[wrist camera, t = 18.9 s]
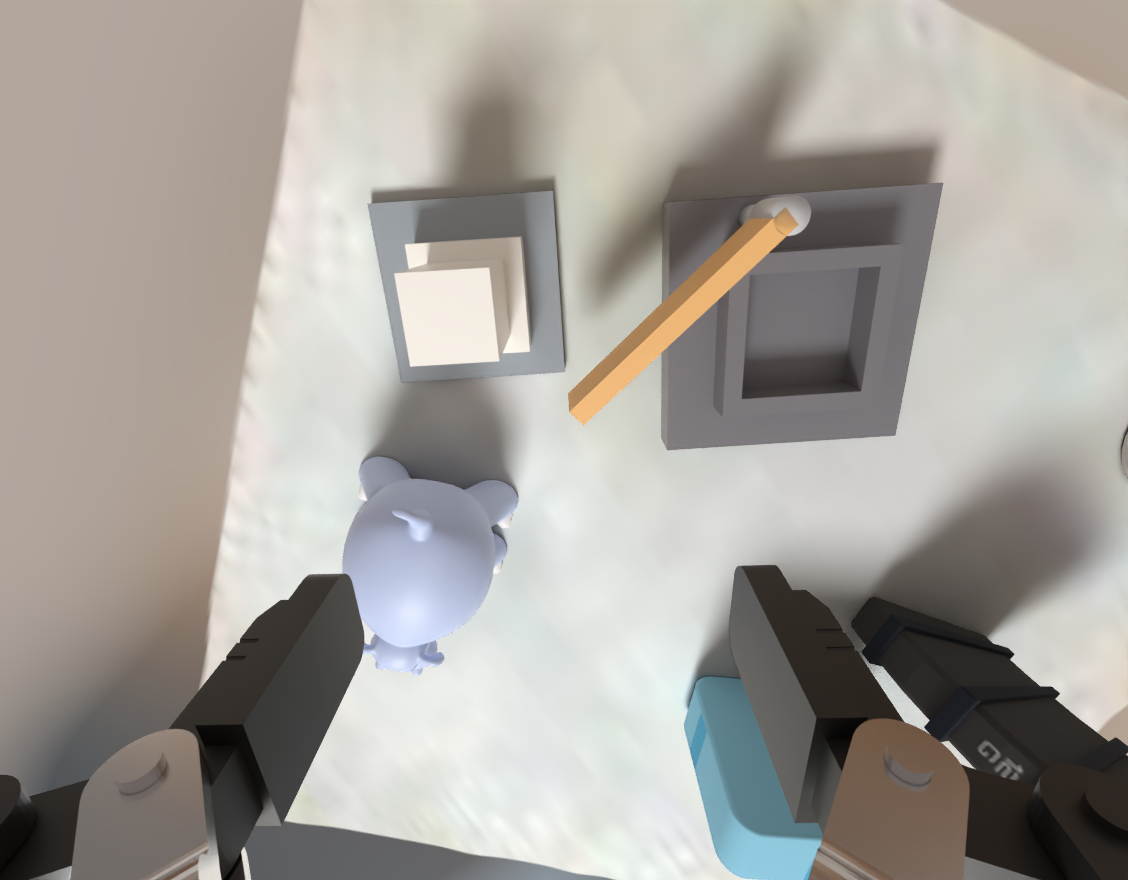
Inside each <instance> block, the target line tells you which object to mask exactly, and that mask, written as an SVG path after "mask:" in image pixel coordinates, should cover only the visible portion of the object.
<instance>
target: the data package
mask: <svg viewBox="0 0 1128 880" xmlns="http://www.w3.org/2000/svg"><path fill="white" fill-rule="evenodd" d="M684 728H685V733H686V737H687V741H688V745H689V749H690V753H691V757H692V761H693V764H694V768H695V772H696V776H697V780H698V784H699V788H700V792H701V796H702V800H703V804H704V808H705V812H706V816H707V820H708V824H709V828H710V832H711V836H712V840H713V844H714V848H715V851H716V854H717V856H718V858H719V859H720V861H721V862H722V864H723V865H724V866H725V867H726V868H727V869H728V870H729V871H730V872H732V873H733V874H735V875H737V876H739V877H741V878H746V879H759V880H808V878H809V874H810V871H811V868H812V864H813V861H814V858H815V855H816V852H817V850H818V848H819V847H820V844H821V841H822V837H823V834H822V832H821V829H820V827H819V825H818V823H795V822H794V820H793V817H792V814H791V812H790V809H789V806H788V803H787V801H786V798H785V795H784V793H783V790H782V787H781V785H780V782H779V779H778V776H777V774H776V771H775V768H774V766H773V763H772V760H771V758H770V755H769V752H768V750H767V747H766V744H765V741H764V739H763V736H762V733H761V731H760V728H759V725H758V723H757V720H756V717H755V714H754V712H753V709H752V706H751V704H750V701H749V698H748V696H747V693H746V690H745V687H744V685H743V682H742V679H737V678H726V677H714V676H706V677H703V678H701V679H699V680H698V681H697V683H696V685H695V689H694V692H693V695H692V699H691V702H690V706H689V709H688V712H687V716H686V719H685V723H684Z"/></svg>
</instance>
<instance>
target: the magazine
mask: <svg viewBox="0 0 1128 880" xmlns="http://www.w3.org/2000/svg"><path fill="white" fill-rule="evenodd" d="M851 625H852V628H853V629H854V630H855V632H856V633H857V634H858V635H859V637H860V638H861V639H862V641H863V642H864V643H865V645H866V647H865V648H864V649H863V651H862V654H863V655H864V656H865V658H866V659H867V660H868V662H869V663H870V664H875V665H879V666H883V667H884V669H885V670H886V671H887V672H888V674H889V675H890V676H891V677H892V678H893V680H894V681H895V682H896V683H897V685H898V686H899V687H900V688H901V689H902V691H903V692H904V693H905V694H906V695H907V696H908V697H909V698H910V699H911V700H912V702H913V703H914V704H915V705H916V706H917V707H918V708H919V709H920V710H921V711H922V713H923V714H924V715H925V716H926V717H927V718H928V719H929V720H930V721H929V722H928V723H927V724H926V726H925V727H924V728H925V729H926V730H927V731H928V732H929V733H930V735H931V736H933V737H934V738H936V739H937V740H938V741H940V742H944V741H950V742H951V744H952V745H953V746H954V747H955V748H956V749H957V750H958V751H959V752H960V753H961V754H962V755H963V756H964V757H965V758H966V760H967V761H968V762H969V763H970V764H971V765H972V766H973V767H974V768H975V769H976V770H978V771H982V772H986V773H990V774H993V775H997V776H1001V777H1005V778H1009V779H1012V780H1016V781H1020V782H1024V783H1027V784H1031V785H1035V786H1036V785H1037V782H1038V780H1039V778H1040V776H1041V774H1042V773H1043V772H1044V770H1045V769H1047V768H1049V767H1051V766H1054V765H1059V764H1070V765H1078V766H1082V767H1087V768H1090V769H1093V770H1096V771H1099V772H1102V773H1104V774H1106V775H1109V776H1111V777H1113V778H1115V779H1117V780H1119V781H1121V782H1123V783H1125V784H1127V785H1128V756H1127V755H1125V754H1127V753H1128V746H1127V745H1125V744H1124V743H1123V742H1122V741H1120V740H1119V739H1118V738H1114V739H1112V740H1111V741H1109V742H1108V741H1107V740H1106V739H1105V738H1103V737H1102V736H1101V735H1099V734H1098V733H1097V732H1095V731H1094V730H1093V729H1092V728H1090V727H1089V726H1088V725H1086V724H1085V723H1084V722H1082V721H1081V720H1080V719H1079V718H1077V717H1076V716H1075V715H1074V714H1072V713H1071V712H1070V711H1069V710H1068V709H1066V708H1065V707H1064V706H1063V705H1062V704H1060V703H1059V702H1058V701H1057V700H1056V699H1055V698H1056V697H1057V696H1058V695H1059V694H1060V693H1059V692H1058V691H1056V690H1055V689H1054V688H1053V687H1040V686H1039V685H1038V684H1037V683H1036V682H1034V681H1033V680H1032V679H1031V678H1030V677H1029V676H1027V675H1026V674H1025V673H1024V672H1023V671H1022V670H1021V669H1020V668H1019V667H1017V666H1016V665H1015V664H1014V663H1013V662H1012V661H1011V660H1010V659H1011V658H1012V657H1013V655H1014V653H1013V652H1012V651H1011V650H1010V649H1008V648H1006V647H1003V646H999V645H996V644H993V643H992V642H991V641H990V640H989V639H988V638H987V637H985V636H983V635H980V634H977V633H974V632H972V631H969V630H966V629H963V628H960V627H957V626H955V625H952V624H949V623H946V622H943V621H940V620H937V619H935V618H932V617H929V616H926V615H923V614H920V613H918V612H915V611H912V610H909V609H906V608H903V607H901V606H898V605H895V604H892V603H889V602H886V601H884V600H881V599H878V598H875V597H872V598H870V599H869V601H868V602H867V603H866V605H865V606H864V607H863V609H862V610H861V611H860V613H859V614H858V615H857V616H856V618H855V619H854V620H853V622H852V624H851Z"/></svg>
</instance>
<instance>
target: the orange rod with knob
mask: <svg viewBox="0 0 1128 880" xmlns="http://www.w3.org/2000/svg"><path fill="white" fill-rule="evenodd" d="M810 217H811V208H810V205H809V203H808V201H807V200H806V199H805V198H803V197H801V196H798V195H792V196H784V197H776V198H768V199H763V200H761V201H759V202H758V203H757V204H756V205H755V206H754V207H753V209H752V211H751V214H750V219H749V220H748V221H747V222H746V223H745V224H744V225H743V226H742V227H741V228H740V229H739V230H738V231H736V232H735V233H734V234H733V235H732V236H731V237H730V238H729V239H728V240H727V241H726V242H725V243H724V244H723V245H722V246H721V247H720V248H719V249H718V250H717V251H716V252H715V253H714V254H713V255H712V256H711V257H710V258H708V259H707V260H706V261H705V262H704V263H703V264H702V265H701V266H700V267H699V268H698V269H697V270H696V271H695V272H694V273H693V274H692V275H691V276H690V277H689V278H688V279H687V280H686V281H685V282H684V283H683V284H681V285H680V286H679V287H678V288H677V289H676V290H675V291H674V292H673V293H672V294H671V295H670V296H669V297H668V298H667V299H666V300H665V301H664V302H663V303H662V304H661V305H660V306H659V307H658V308H657V309H656V310H654V311H653V312H652V313H651V314H650V315H649V316H648V317H647V318H646V319H645V320H644V321H643V322H642V323H641V324H640V325H639V326H638V327H637V328H636V329H635V330H634V331H633V332H632V333H631V334H630V335H629V336H627V337H626V338H625V339H624V340H623V341H622V342H621V343H620V344H619V345H618V346H617V347H616V348H615V349H614V350H613V351H612V352H611V353H610V354H609V355H608V356H607V357H606V358H605V359H604V360H603V361H602V362H600V363H599V364H598V365H597V366H596V367H595V368H594V369H593V370H592V371H591V372H590V373H589V374H588V375H587V376H586V377H585V378H584V379H583V380H582V381H581V382H580V383H579V384H578V385H577V386H576V387H575V388H574V389H572V390H571V391H570V392H569V393H568V398H569V412H570V413H571V414H572V415H573V416H574V417H575V418H576V419H578V420H579V421H580V422H581V423H582V424H583V425H584V424H585V423H586V422H588V421H589V420H590V419H591V418H592V417H593V416H594V415H595V414H596V413H597V412H598V411H599V410H600V409H602V408H603V407H604V406H605V405H606V404H607V403H608V402H609V401H610V400H611V399H612V398H613V397H614V396H616V395H617V394H618V393H619V392H620V391H621V390H622V389H623V388H624V387H625V386H626V385H627V384H628V383H629V382H631V381H632V380H633V379H634V378H635V377H636V376H637V375H638V374H639V373H640V372H641V371H642V370H643V369H645V368H646V367H647V366H648V365H649V364H650V363H651V362H652V361H653V360H654V359H655V358H656V357H657V356H658V355H660V354H661V353H662V352H663V351H664V350H665V349H666V348H667V347H668V346H669V345H670V344H671V343H672V342H674V341H675V340H676V339H677V338H678V337H679V336H680V335H681V334H682V333H683V332H684V331H685V330H686V329H687V328H689V327H690V326H691V325H692V324H693V323H694V322H695V321H696V320H697V319H698V318H699V317H700V316H701V315H703V314H704V313H705V312H706V311H707V310H708V309H709V308H710V307H711V306H712V305H713V304H714V303H715V302H716V301H718V300H719V299H720V298H721V297H722V296H723V295H724V294H725V293H726V292H727V291H728V290H729V289H730V288H732V287H733V286H734V285H735V284H736V283H737V282H738V281H739V280H740V279H741V278H742V277H743V276H744V275H745V274H747V273H748V272H749V271H750V270H751V269H752V268H753V267H754V266H755V265H756V264H757V263H758V262H759V261H761V260H762V259H763V258H764V257H765V256H766V255H767V254H768V253H769V252H770V251H771V250H772V249H773V248H775V247H776V246H777V245H778V244H779V243H780V242H781V241H782V240H783V239H784V238H785V237H786V236H792V235H796V234H798V233H800V232H801V231H802V230H804V228H805V227H806V226H807V224H808V223H809V220H810Z"/></svg>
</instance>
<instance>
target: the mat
mask: <svg viewBox="0 0 1128 880" xmlns="http://www.w3.org/2000/svg"><path fill="white" fill-rule="evenodd" d="M368 209H369V214H370V219H371V225H372V230H373V235H374V241H375V246H376V251H377V256H378V262H379V267H380V272H381V277H382V283H383V288H384V293H385V298H386V304H387V309H388V314H389V320H390V325H391V330H392V335H393V341H394V346H395V351H396V356H397V362H398V367H399V372H400V377H401V383H408V382H423V381H438V380H453V379H468V378H483V377H498V376H513V375H528V374H543V373H558V372H565V365H564V350H563V335H562V320H561V305H560V290H559V275H558V260H557V245H556V229H555V214H554V199H553V191H540V192H526V193H512V194H498V195H484V196H470V197H456V198H442V199H428V200H414V201H400V202H386V203H372V204H368ZM520 236H523V247H524V259H525V271H526V283H527V295H528V307H529V319H530V331H531V343H532V345H531V349H530V352H518V353H503V354H502V356H501V358H500V361H495V362H479V363H462V364H446V365H429V366H413V367H410V362H409V357H408V351H407V345H406V339H405V334H404V328H403V322H402V316H401V311H400V305H399V299H398V293H397V288H396V282H395V276H394V273H397V272H400V271H404V270H407V269H409V268H408V261H407V255H406V249H405V244H412V243H425V242H441V241H456V240H472V239H488V238H504V237H520Z"/></svg>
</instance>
